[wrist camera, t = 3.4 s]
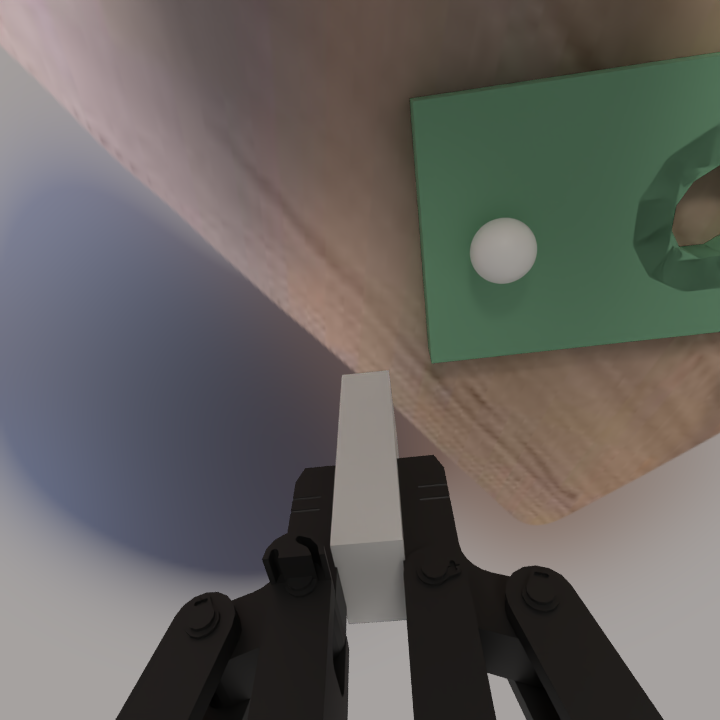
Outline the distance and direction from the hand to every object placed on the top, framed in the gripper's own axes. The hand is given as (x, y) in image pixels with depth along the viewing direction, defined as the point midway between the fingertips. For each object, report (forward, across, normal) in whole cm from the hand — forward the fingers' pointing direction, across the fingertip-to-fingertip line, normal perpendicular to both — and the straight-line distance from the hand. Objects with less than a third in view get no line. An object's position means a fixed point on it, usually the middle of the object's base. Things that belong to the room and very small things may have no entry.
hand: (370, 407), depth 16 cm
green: (+16, +14, 0) cm, 21 cm away
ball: (+12, +7, 0) cm, 14 cm away
